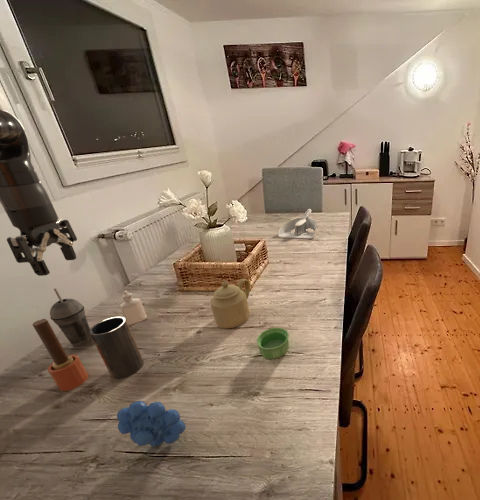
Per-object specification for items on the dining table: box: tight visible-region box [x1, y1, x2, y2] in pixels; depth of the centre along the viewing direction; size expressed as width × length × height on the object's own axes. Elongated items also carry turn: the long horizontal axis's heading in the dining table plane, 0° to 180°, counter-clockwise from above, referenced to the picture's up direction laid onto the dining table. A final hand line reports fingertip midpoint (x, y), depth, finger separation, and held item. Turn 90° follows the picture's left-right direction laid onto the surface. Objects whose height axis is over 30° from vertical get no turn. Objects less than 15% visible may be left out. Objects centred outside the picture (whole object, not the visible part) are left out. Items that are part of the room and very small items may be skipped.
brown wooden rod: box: [31, 318, 74, 370], centre depth 68 cm, size 4×4×19 cm
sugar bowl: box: [209, 278, 251, 329], centre depth 95 cm, size 15×11×15 cm
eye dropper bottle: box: [119, 290, 148, 326], centre depth 93 cm, size 4×6×12 cm
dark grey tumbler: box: [89, 316, 145, 380], centre depth 73 cm, size 7×7×15 cm
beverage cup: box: [49, 288, 93, 348], centre depth 82 cm, size 7×7×20 cm
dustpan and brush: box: [277, 208, 318, 240], centre depth 178 cm, size 23×33×10 cm
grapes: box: [116, 400, 187, 447], centre depth 55 cm, size 12×7×12 cm, turn 97°
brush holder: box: [47, 354, 89, 392], centre depth 71 cm, size 6×6×7 cm
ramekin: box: [256, 327, 290, 360], centre depth 81 cm, size 9×9×4 cm
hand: (58, 266), depth 71 cm, fingers open, 8 cm apart
